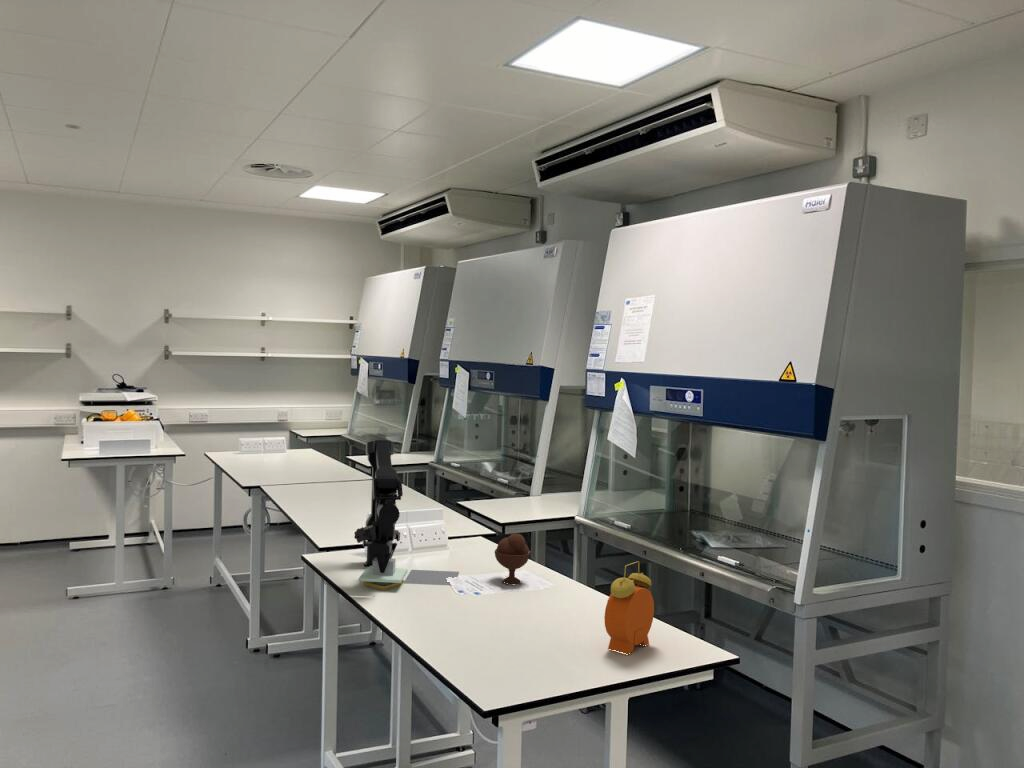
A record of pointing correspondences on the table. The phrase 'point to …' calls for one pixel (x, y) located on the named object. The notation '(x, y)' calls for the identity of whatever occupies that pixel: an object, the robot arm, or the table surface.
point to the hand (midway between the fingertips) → (383, 570)
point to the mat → (430, 577)
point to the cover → (388, 576)
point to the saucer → (381, 586)
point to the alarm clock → (629, 612)
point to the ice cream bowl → (512, 555)
